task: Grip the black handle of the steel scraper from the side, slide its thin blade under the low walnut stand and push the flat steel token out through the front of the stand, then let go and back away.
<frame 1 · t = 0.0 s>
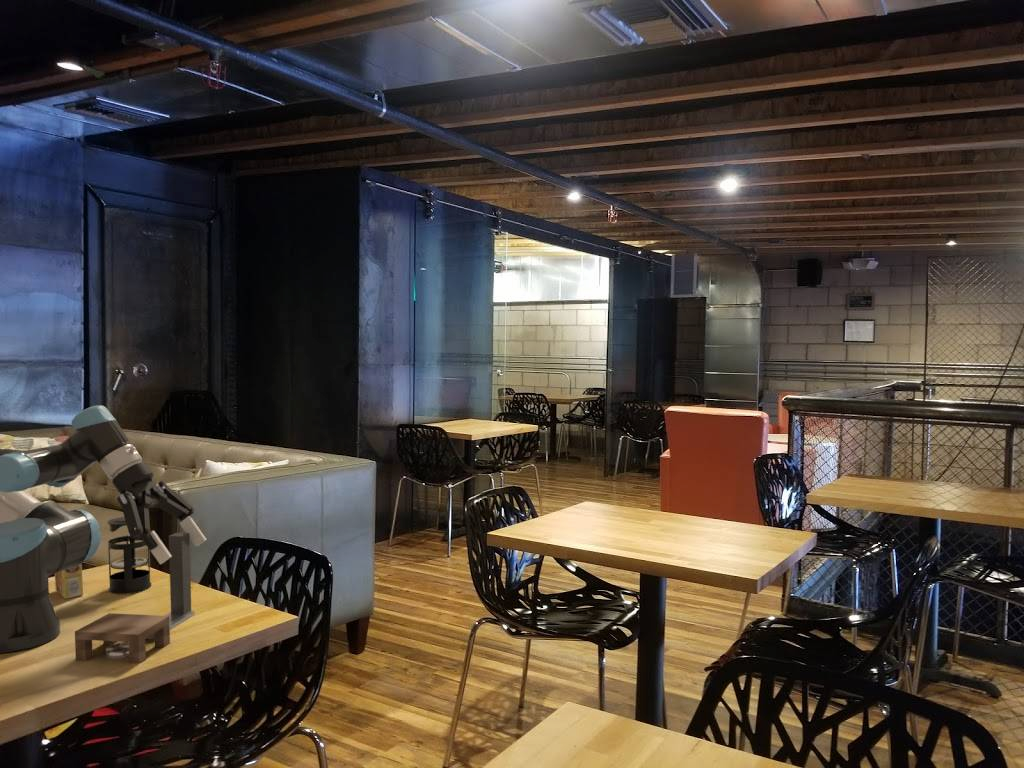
hand: (184, 551, 167), 15 cm above the table, tool tilted 35°, fingers open, 13 cm apart
french press: (130, 588, 192), on the table
stand: (124, 651, 152), on the table
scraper: (181, 615, 172), on the table
token: (120, 655, 151), on the table
candy box: (68, 594, 188), on the table
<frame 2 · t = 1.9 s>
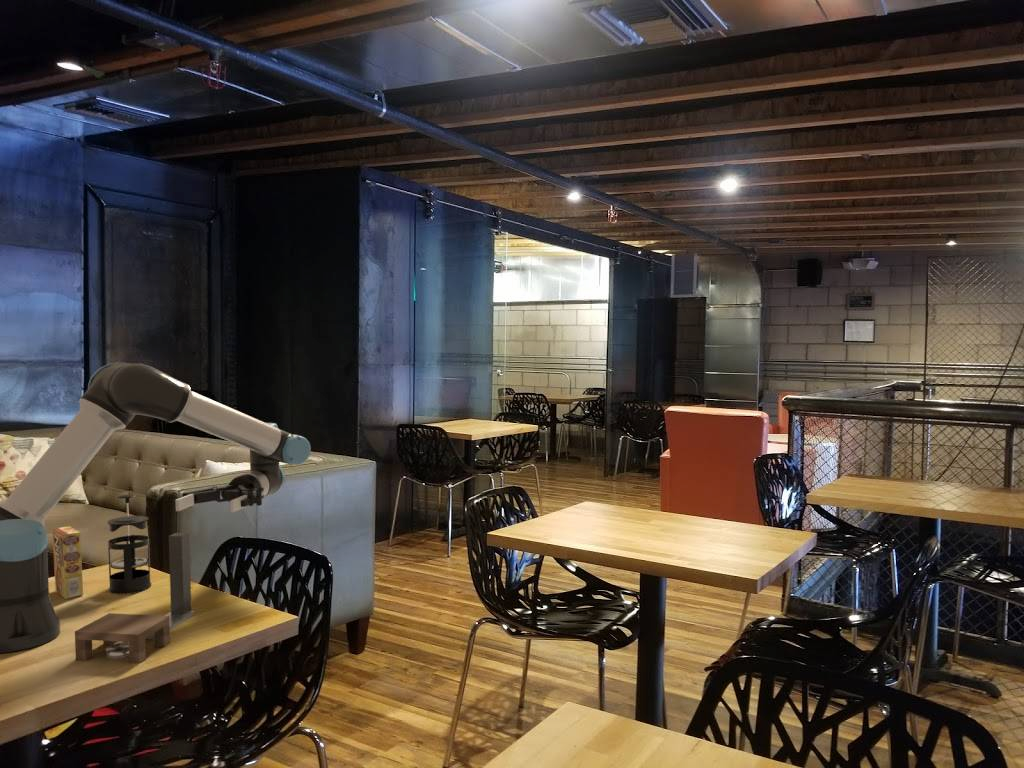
hand: (204, 506, 181), 22 cm above the table, tool horizontal, fingers open, 13 cm apart
nothing on the table moved.
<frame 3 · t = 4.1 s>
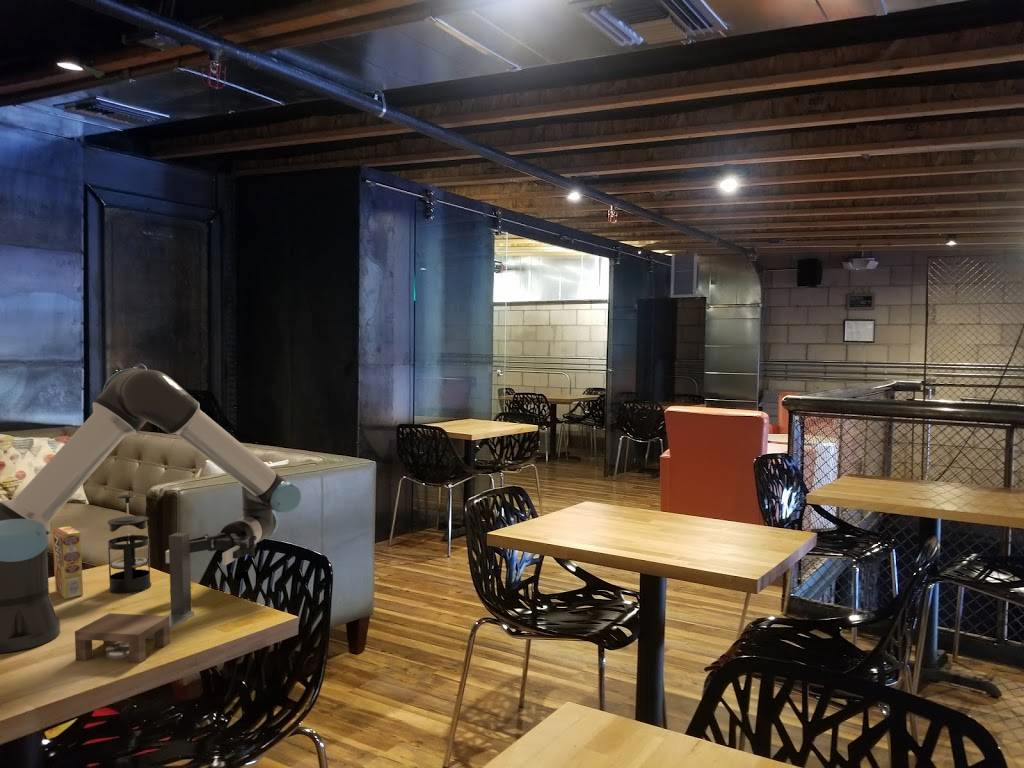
hand: (195, 558, 176), 11 cm above the table, tool horizontal, fingers open, 13 cm apart
nothing on the table moved.
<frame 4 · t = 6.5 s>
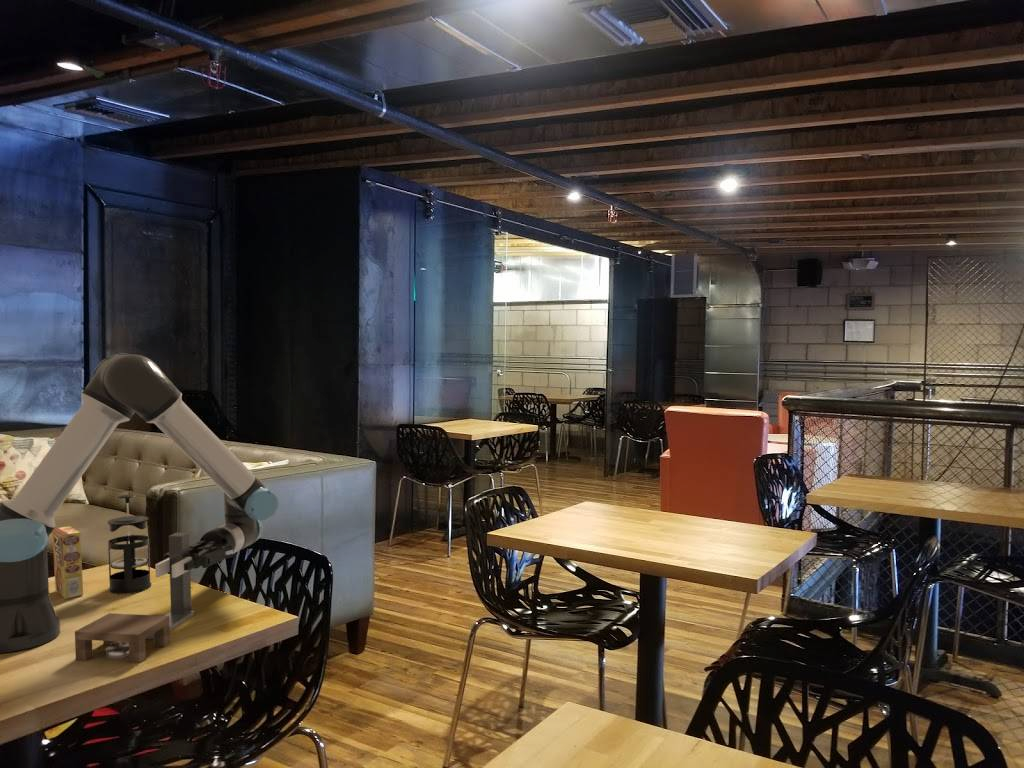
hand: (165, 571, 166), 12 cm above the table, tool horizontal, fingers closed on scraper, 3 cm apart
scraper: (181, 615, 172), on the table, touching gripper
everything else where it was.
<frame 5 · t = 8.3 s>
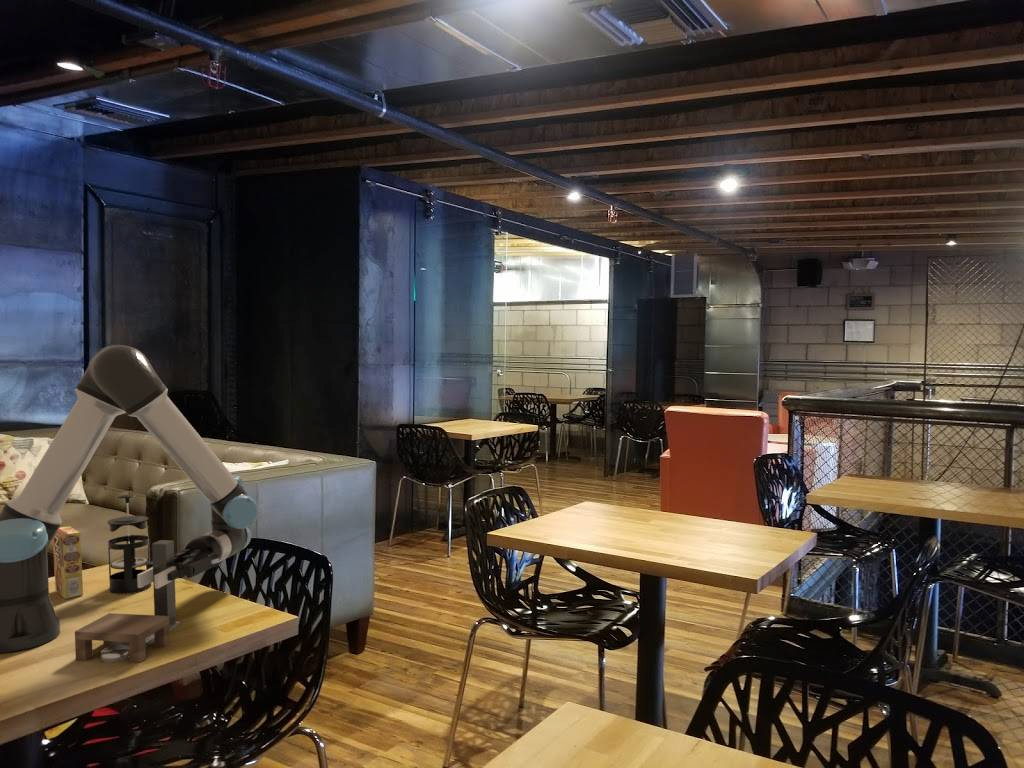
hand: (147, 581, 159), 11 cm above the table, tool horizontal, fingers closed on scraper, 3 cm apart
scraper: (165, 626, 165), on the table, touching gripper, token
token: (115, 657, 150), on the table, touching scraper
everything else where it was.
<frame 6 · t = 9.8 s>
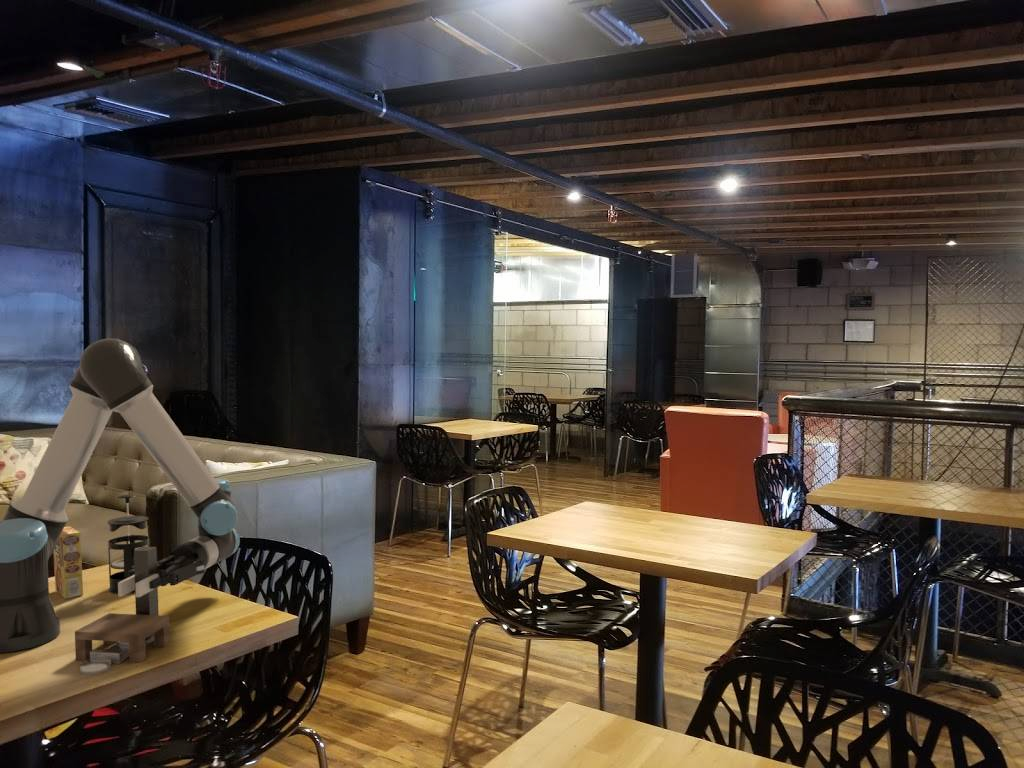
hand: (128, 589, 154), 11 cm above the table, tool horizontal, fingers closed on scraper, 3 cm apart
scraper: (148, 635, 160), on the table, touching gripper
token: (95, 670, 144), on the table
everything else where it was.
when the fingers open (11 cm above the table, at t = 10.5 s): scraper stays where it is, on the table.
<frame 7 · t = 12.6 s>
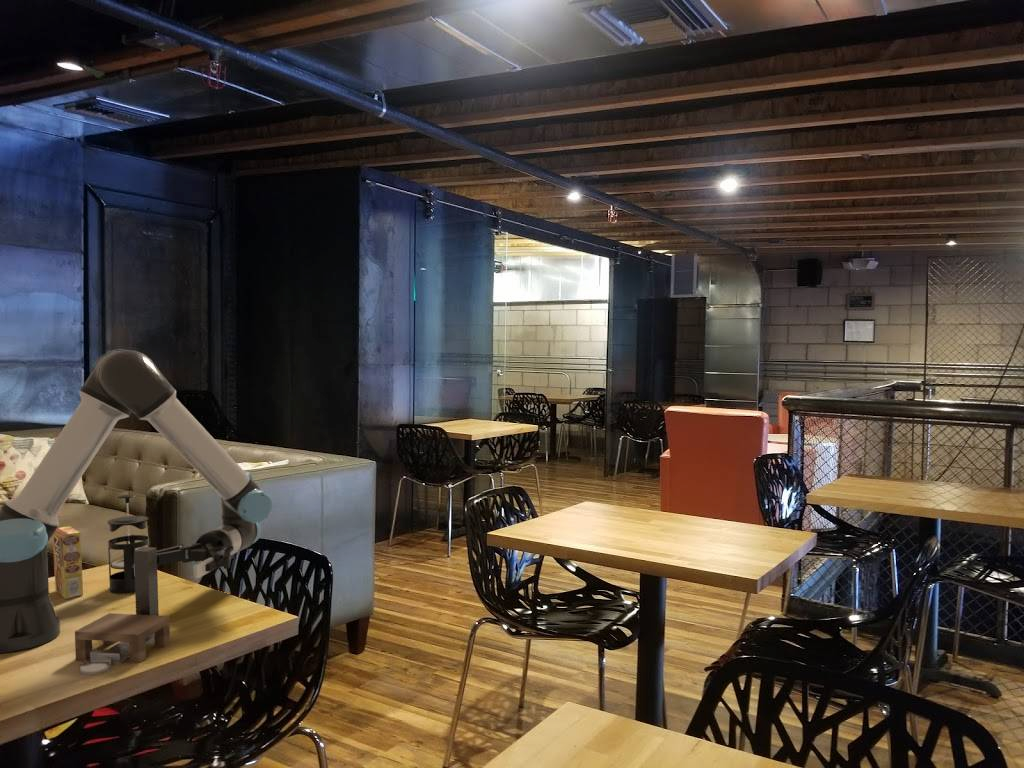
hand: (165, 571, 165), 12 cm above the table, tool horizontal, fingers open, 13 cm apart
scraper: (148, 636, 160), on the table
everything else where it was.
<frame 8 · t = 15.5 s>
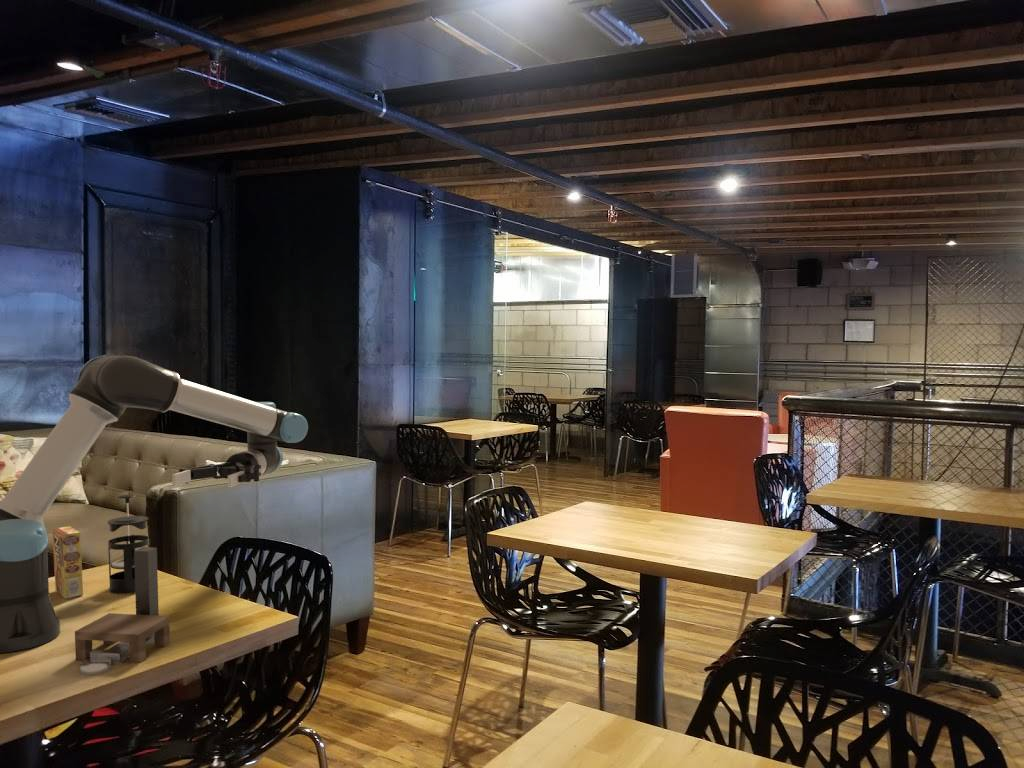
hand: (201, 481, 180), 28 cm above the table, tool horizontal, fingers open, 13 cm apart
nothing on the table moved.
at the end: token inside the target area (4.4 cm from its centre), on the table; token moved 7.3 cm from its start; the gripper is holding nothing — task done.
